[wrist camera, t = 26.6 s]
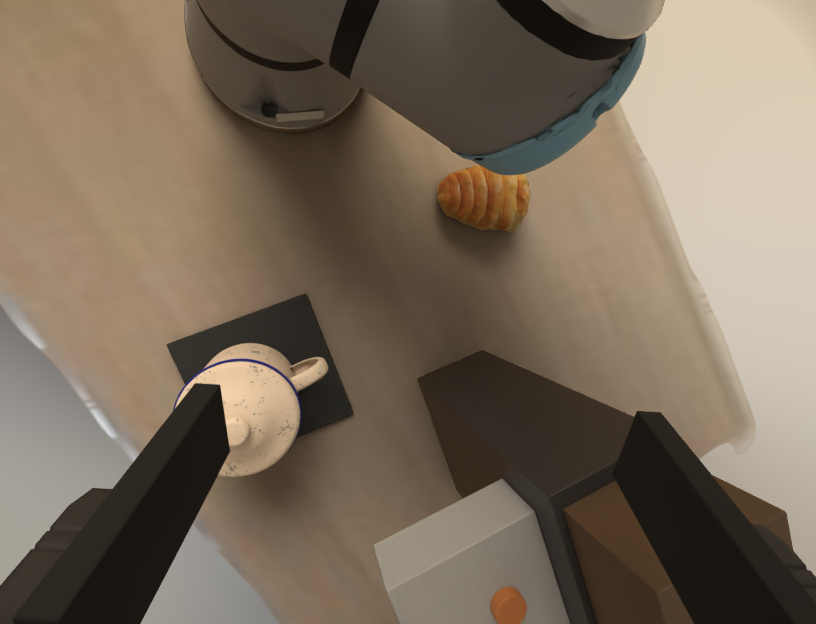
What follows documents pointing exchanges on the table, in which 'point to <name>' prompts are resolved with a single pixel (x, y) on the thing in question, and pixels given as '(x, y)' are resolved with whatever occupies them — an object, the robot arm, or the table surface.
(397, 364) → the table surface
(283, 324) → the rubber mat
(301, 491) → the table surface
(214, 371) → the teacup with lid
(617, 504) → the coffee maker
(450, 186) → the pastry
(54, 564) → the robot arm
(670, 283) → the table surface
